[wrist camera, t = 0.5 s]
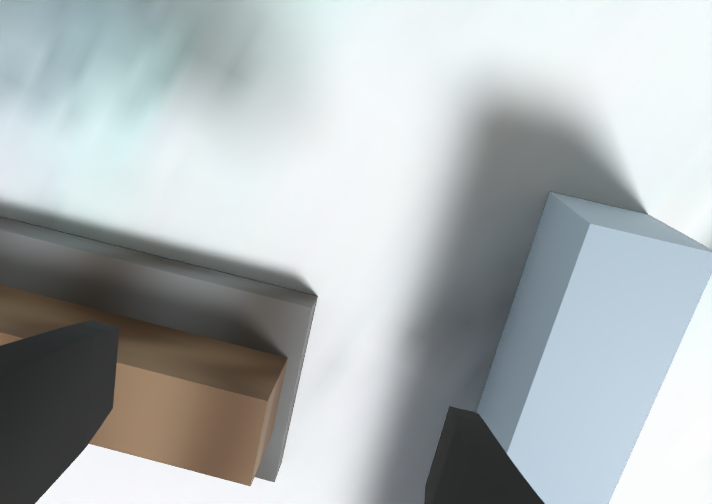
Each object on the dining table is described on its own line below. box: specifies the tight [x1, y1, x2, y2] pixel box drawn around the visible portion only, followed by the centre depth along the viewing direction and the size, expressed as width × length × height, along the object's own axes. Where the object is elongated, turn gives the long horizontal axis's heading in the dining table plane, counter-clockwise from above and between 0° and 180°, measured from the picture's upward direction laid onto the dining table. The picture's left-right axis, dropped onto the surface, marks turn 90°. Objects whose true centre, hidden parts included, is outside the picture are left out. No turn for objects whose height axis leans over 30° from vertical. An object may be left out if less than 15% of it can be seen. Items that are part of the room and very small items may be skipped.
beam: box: [476, 192, 712, 504], centre depth 20 cm, size 18×4×5 cm, turn 168°
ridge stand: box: [0, 217, 318, 486], centre depth 21 cm, size 16×8×4 cm, turn 77°
